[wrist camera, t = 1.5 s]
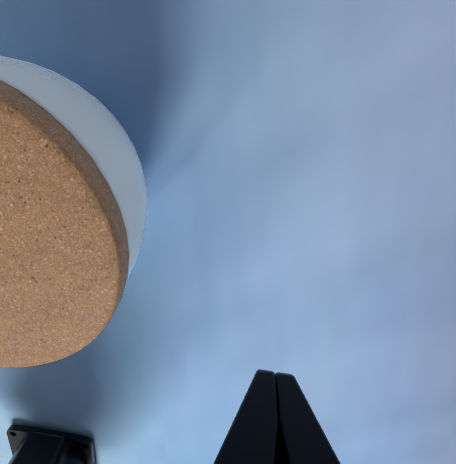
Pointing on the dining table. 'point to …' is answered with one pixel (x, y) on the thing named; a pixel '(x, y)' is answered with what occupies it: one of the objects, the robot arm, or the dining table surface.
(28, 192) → the lidded jar
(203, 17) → the dining table surface
